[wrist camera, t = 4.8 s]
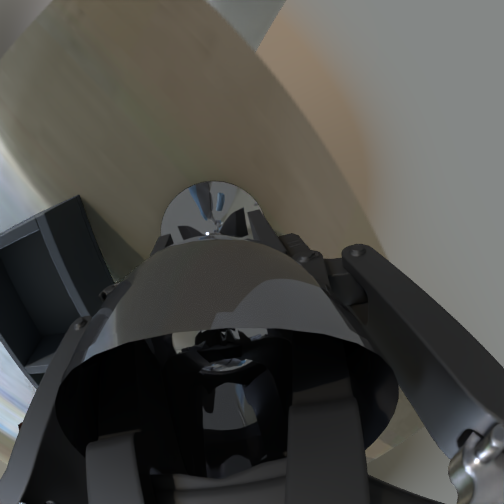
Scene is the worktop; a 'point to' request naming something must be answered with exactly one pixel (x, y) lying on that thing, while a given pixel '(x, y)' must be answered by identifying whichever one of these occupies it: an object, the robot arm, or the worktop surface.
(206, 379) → the wine glass
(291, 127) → the worktop surface
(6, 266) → the divided tray
